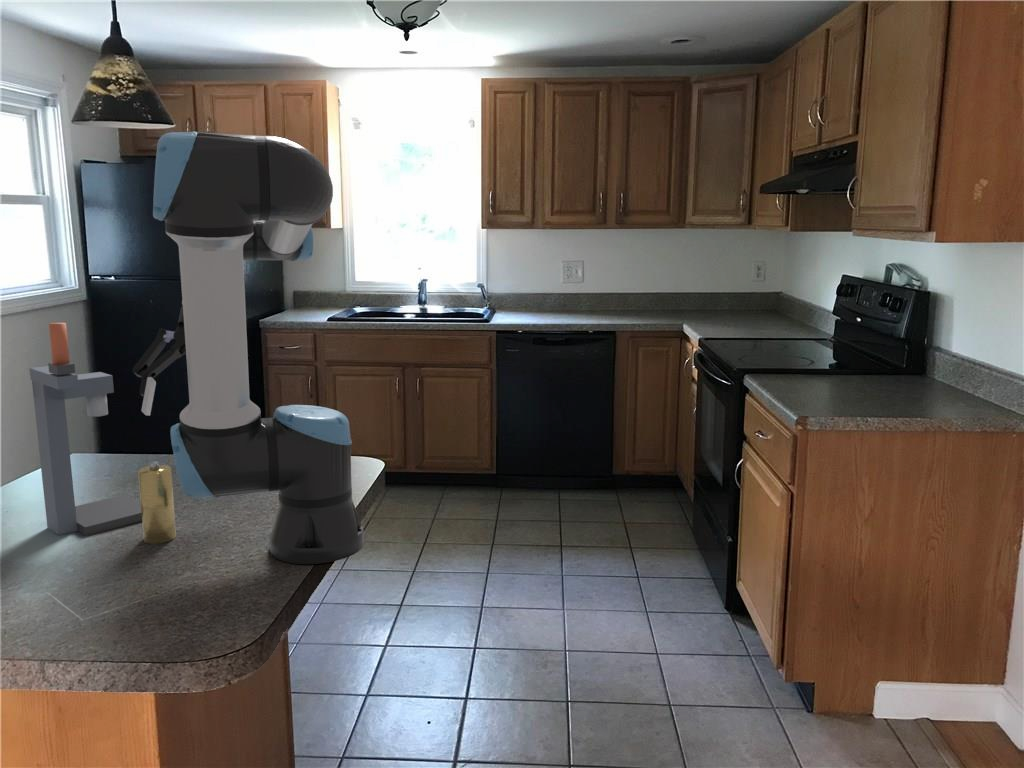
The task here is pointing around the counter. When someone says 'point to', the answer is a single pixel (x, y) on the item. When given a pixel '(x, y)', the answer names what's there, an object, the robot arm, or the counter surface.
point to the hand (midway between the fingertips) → (184, 415)
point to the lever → (60, 350)
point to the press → (57, 454)
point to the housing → (157, 503)
